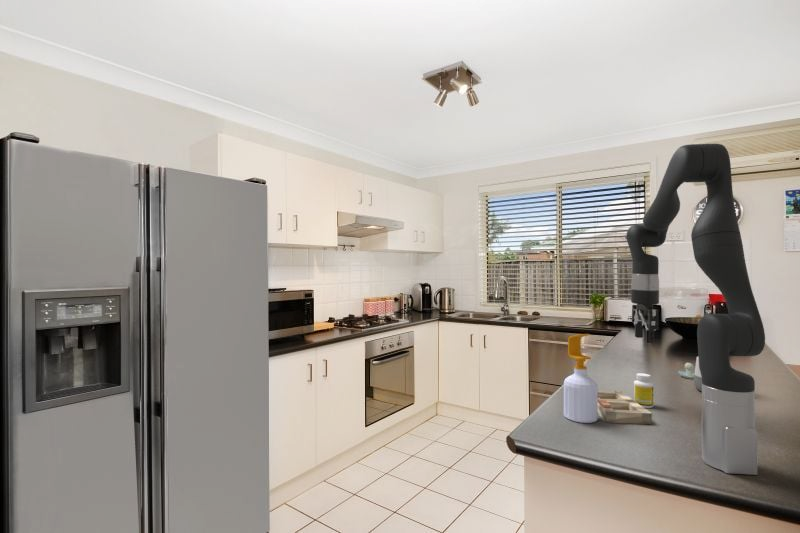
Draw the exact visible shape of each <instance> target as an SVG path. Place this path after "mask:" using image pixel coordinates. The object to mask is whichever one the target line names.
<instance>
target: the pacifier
mask: <svg viewBox="0 0 800 533" xmlns="http://www.w3.org/2000/svg"><path fill="white" fill-rule="evenodd" d="M684 369H685V371H682V370H678V374H680V376H681V377H683V378H684V377H685V379H688V378H689V379H690V380H694V373H693V370H695V367H694V364H692V363H691V362H686V363H685V364H684Z"/></svg>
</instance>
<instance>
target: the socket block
mask: <svg viewBox="0 0 800 533" xmlns="http://www.w3.org/2000/svg"><path fill="white" fill-rule="evenodd" d="M598 415H599V416H600V418H602V419H603V420H604V422H606V423H610V424H611V423H614V424H637V425H638V424H639V425H641V424H643V425H652V424H653V413H652V412H650V411H649V410H648V409H646V408H644V407H642V406H641V405H639V404H638V403H637V402H635V401H634V399H633V398H632V397H630V396H628V395H627V394H625V393H624V392H622V391H620V390H619V391H618V390H598Z"/></svg>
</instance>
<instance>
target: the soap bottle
mask: <svg viewBox="0 0 800 533" xmlns="http://www.w3.org/2000/svg"><path fill="white" fill-rule="evenodd" d="M587 336H590V333H578V334H573V335H570V336H569V337H568V338H567V353H568V354H567V355H568V356H569V357H570V358H573V359H575V362H577V364H576V365H574V368H573V369H574V370H573V372H574V373H572V374H571V375H569V376H567V377H566V378H565V379H564V381H563V416H564V417H565V418H566V419H568V420H569V421H572V422H577V423H580V424H581V423H582V424H583V423H584V424H591V423H595V422H597V421H598V419H599V418H598V415H599V414H598V391H599V390H598V389H599V388H598V383H597V381H596V380H595V379H594V378H592V377H591V376H589V375H588V374H587V372H588V371H587V370H588V369H587V366H586V365H584V363H585V362H587V361H586V360H591V358H592V357H590V356H588V355H584V354H582V351H581V348H582V347H581V342H582V341H581V340H582V338H584V337H587Z"/></svg>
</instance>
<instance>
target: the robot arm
mask: <svg viewBox="0 0 800 533" xmlns="http://www.w3.org/2000/svg"><path fill="white" fill-rule="evenodd" d="M731 164H732V163H731V158H730V153H729V151H728V148H726V146H725V145H723V144H722V143H695V144H692V143H691V144H684V145H682V146H680V147H678V148H677V149H676V150H675V152H674V153H673V154H672V156H671V158H670V160H669V162H668V165H667V167H666V170H665V172H664V176H663V178H662V179H661V180H662V181H661V183H660V185H659V189H658V191H657V194H656V195H655V198H654V200H653V202H652V204H651V205H650V207H649V208H648V209H647V211H646V213H645V214H644V216H643V219H642V224H632V225H631V226H630V227H629V228H628V229H627V232H626V235H625V236H626V237H625V238H626V242H627V244H628V247H629V248H628V249H629V251H630V256H631V259H632V260H631V261H632V272H631V273H632V274H631V275H632V276H631V280H630V282H631V285H630V286H631V287H630V288H631V289H630V292H631V293H630V301H631V303H632V305H631V323H633V325H634V337H635V338H636V339H643V337H644V327H645V343H647V344H654V343H655V341H656V340H655V336H656V335H655V331H657V330H659V329H660V326H659V325H660V324H659V322H660V320H659V316H660V315H659V314H660V313H659V309H654V305H658V304H659V303H660V279H659V266H660V265H659V257H658V256H656V255H654V254H650V253H646V252H645V250H644V249H643V248H656V247H660V246H662V245H663V244H664V243H665V242H666V238H667V233H668V229H669V227H670V225H671V224H672V223H673V221H674V219H675V218H676V217H677V215H678V214H679V212H680V209H681V200H680V196H679V194H678V188H680V187H681V186H682V184H684V183H705V185H706V190H707V191H706V193H707V194H706V196H707V198H706V203H705V205H704V207H703V209H702V211H701V212H700V215H699V216H698V218H697V219H696V221H695V223H694V225H693V226H692V230H691V243H692V250H693V251H692V252H693V256H694V260H695V262H696V264H697V266H698V267H699V268H700V270H701V271H702V272H703V273H704V274H705V276H706V277H707V278H708V279H709V280H710V281H711V282H712V283H713V284H714V286H716V288H718V289H719V292H721V295H722V296H723V300H724V301H725V305H726V307H727V312H728V313H708V314H705V315H703V316H702V317H701V318H700V319H699V321H698V324H697V330H696V337H697V339H696V340H697V341H696V342H697V353H698V354H697V355H698V356H697V357H699V369H700V372H701V376H702V392H701V459H702V461H703V462H704V463H705V464H706V465H708V466H710V467H712V468H715V469H717V470H719V471H720V470H721V471H723V472H724V473H725V474H734V475H735V474H737V475H754V476H755V475H756V476H757V475H758V472H759V470H758V429H756V428H755V427H756V426H755V424H756V421H755V416H756V415H755V413H756V412H755V411H756V410H755V409H756V406H755V405H756V404H755V403H756V401H755V400H756V399H755V397H756V390H755V388H756V386H755V382H756V381H755V379H754V377H753V376H752V375H751V374H748V373H746V372H743V371H740V370H737V369H735V368H733V367H732V365H731V361H730V357H756V356H758V355H760V354H762V352H763V350H764V349H765V346H766V333H765V328H764V324H763V321H762V317H761V314H760V311H759V307H758V305H757V301H756V299H755V296H754V293H753V288H752V286H751V282H750V277H749V273H748V268H747V264H746V263H747V262H746V259H745V258H746V257H745V253H744V252H745V251H744V246H743V245H744V244H743V241H742V236H741V235H742V234H741V231H740V227H739V222H738V219H737V218H738V217H737V213H736V208H735V207H736V206H735V202H734V201H735V199H734V193H733V180H732V168H731V167H732V166H731Z"/></svg>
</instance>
